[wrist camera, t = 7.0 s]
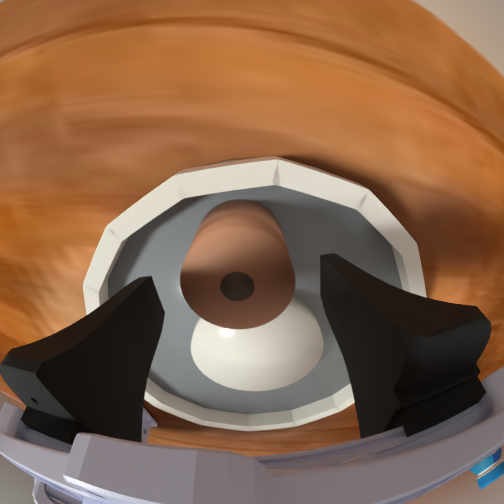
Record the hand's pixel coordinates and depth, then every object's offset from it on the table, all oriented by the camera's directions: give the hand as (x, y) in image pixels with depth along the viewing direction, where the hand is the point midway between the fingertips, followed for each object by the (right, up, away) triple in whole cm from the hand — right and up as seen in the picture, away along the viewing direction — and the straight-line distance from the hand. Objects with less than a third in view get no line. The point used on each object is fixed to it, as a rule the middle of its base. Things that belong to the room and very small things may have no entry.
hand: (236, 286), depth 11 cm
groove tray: (+1, -4, +8) cm, 10 cm away
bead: (0, +2, +4) cm, 5 cm away
